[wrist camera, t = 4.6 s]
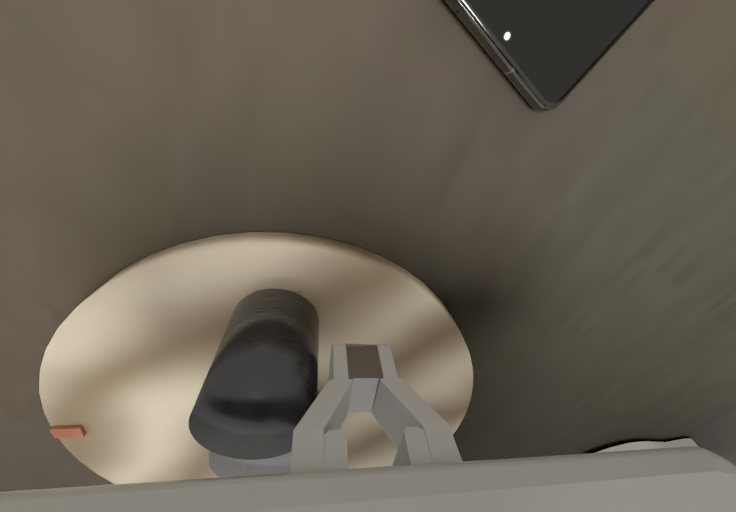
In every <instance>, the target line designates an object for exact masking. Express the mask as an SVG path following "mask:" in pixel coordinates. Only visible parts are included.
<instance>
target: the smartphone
mask: <svg viewBox="0 0 736 512" xmlns="http://www.w3.org/2000/svg"><path fill="white" fill-rule="evenodd" d="M444 1H445V2H446V3H447V5H448V6H449V7H450V8H451V9H452V11H453V12H454V13H455V14H456V16H457V17H458V18H459V19H460V20H461V22H462V23H463V24H464V25H465V27H466V28H467V29H468V30H469V31H470V33H471V34H472V35H473V36H474V38H475V39H476V40H477V41H478V42H479V44H480V45H481V46H482V47H483V49H484V50H485V51H486V52H487V53H488V55H489V56H490V57H491V58H492V60H493V61H494V62H495V63H496V64H497V66H498V67H499V68H500V69H501V71H502V72H503V73H504V74H505V75H506V77H507V78H508V79H509V80H510V82H511V83H512V84H513V85H514V86H515V88H516V89H517V90H518V91H519V93H520V94H521V95H522V96H523V97H524V99H525V100H526V101H527V102H528V103H529V105H530V106H531V107H533V108H534V109H536V110H538V111H549V110H552V109H554V108H556V107H557V106H558V105H560V104H561V103H562V102H563V101H564V100H565V98H566V97H567V96H568V95H569V94H570V93H571V92H572V91H573V90H574V88H575V87H576V86H577V85H578V84H579V83H580V82H581V81H582V80H583V79H584V78H585V76H586V75H587V74H588V73H589V72H590V71H591V70H592V69H593V68H594V67H595V65H596V64H597V63H598V62H599V61H600V60H601V59H602V58H603V57H604V56H605V55H606V53H607V52H608V51H609V50H610V49H611V48H612V47H613V46H614V45H615V44H616V42H617V41H618V40H619V39H620V38H621V37H622V36H623V35H624V34H625V33H626V31H627V30H628V29H629V28H630V27H631V26H632V25H633V24H634V23H635V22H636V21H637V19H638V18H639V17H640V16H641V15H642V14H643V13H644V12H645V11H646V10H647V8H648V7H649V6H650V5H651V4H652V3H653V2H654V1H655V0H444Z"/></svg>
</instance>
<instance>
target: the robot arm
mask: <svg viewBox="0 0 736 512" xmlns="http://www.w3.org/2000/svg"><path fill="white" fill-rule="evenodd" d="M353 412H372V414H373V416H374V417H375V419H376V420H377V421H378V423H379V424H380V426H381V427H382V429H383V430H384V431H385V433H386V434H387V436H388V437H389V439H390V440H391V441H392V443H393V444H394V446H395V447H396V449H397V453H396V456H395V459H394V462H393V465H392V466H387V467H372V468H357V469H349V466H348V452H347V438H346V433H345V432H344V431H343V430H341V429H340V428H341V426H342V424H343V422H344V420H345V418H346V416H347V414H348V413H353ZM0 512H736V465H734V464H733V463H731V462H729V461H728V460H726V459H724V458H722V457H721V456H719V455H717V454H715V453H713V452H711V451H709V450H707V449H704V448H701V447H699V446H698V445H697V444H696V443H695V442H694V441H693V440H692V439H690V438H686V439H679V440H674V441H669V442H654V441H641V442H632V443H626V444H622V445H618V446H614V447H610V448H607V449H604V450H601V451H598V452H596V453H584V454H569V455H554V456H539V457H524V458H508V459H493V460H478V461H462V459H461V456H460V453H459V451H458V448H457V445H456V443H455V440H454V437H453V434H452V432H451V429H450V426H449V424H448V423H447V422H446V421H445V420H444V419H443V418H442V417H441V416H440V415H439V414H438V413H437V412H436V411H435V410H434V409H433V408H432V407H431V406H430V405H429V404H428V403H427V402H426V401H424V400H423V399H422V398H421V397H420V396H419V395H418V394H417V393H416V392H415V391H414V390H413V389H412V388H411V387H410V386H409V385H408V384H407V383H406V382H405V381H404V380H403V379H401V378H398V375H397V372H396V368H395V364H394V360H393V356H392V352H391V348H390V346H389V344H334V343H332V346H331V355H330V364H329V381H328V382H327V383H326V385H325V386H324V388H323V389H322V390H321V392H320V393H319V395H318V396H317V398H316V399H315V400H314V402H313V403H312V405H311V406H310V407H309V409H308V410H307V412H306V413H305V415H304V416H303V417H302V419H301V420H300V422H299V423H298V425H297V426H296V427H295V429H294V431H293V441H292V451H291V461H290V471H289V473H281V474H266V475H251V476H235V477H220V478H205V479H190V480H174V481H159V482H143V483H128V484H113V485H97V486H82V487H66V488H51V489H36V490H20V491H5V492H0Z"/></svg>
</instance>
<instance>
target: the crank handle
mask: <svg viewBox="0 0 736 512" xmlns="http://www.w3.org/2000/svg"><path fill="white" fill-rule="evenodd" d="M318 351H319V316H318V313H317V311H316V309H315V307H314V306H313V305H312V303H311V302H309V301H308V300H307V299H306V298H305V297H303V291H289V290H284V289H264V290H256V291H255V292H253V293H251V294H249V295H247V296H246V297H244V298H243V299H242V300H241V301H240V302H239V303H238V304H237V306H236V307H235V309H234V311H233V314H232V316H231V319H230V321H229V323H228V326H227V328H226V330H225V333H224V335H223V338H222V340H221V342H220V345H219V347H218V350H217V352H216V354H215V357H214V359H213V362H212V364H211V366H210V369H209V371H208V373H207V376H206V378H205V381H204V383H203V385H202V388H201V390H200V393H199V395H198V397H197V400H196V402H195V405H194V407H193V409H192V412H191V414H190V417H189V423H188V425H189V430H190V433H191V435H192V436H193V438H194V439H195V440H196V441H197V442H198V443H199V444H200V445H201V446H202V447H204V448H206V449H207V450H209V451H210V452H209V457H208V460H209V465H210V468H211V469H212V471H213V472H214V473H215V474H216V475H217V476H218V477H219V478H220V477H235V476H251V475H266V474H281V473H289V471H290V461H291V451H292V441H293V431H294V429H295V427H296V426H297V425H298V423H299V422H300V420H301V419H302V417H303V416H304V415H305V413H306V412H307V410H308V409H309V407H310V406H311V405H312V403H313V402H314V400H315V399H316V398H317V396H318V395H317V386H318ZM340 429H341V428H340Z"/></svg>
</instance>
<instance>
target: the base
mask: <svg viewBox="0 0 736 512" xmlns="http://www.w3.org/2000/svg"><path fill="white" fill-rule="evenodd" d="M264 289H284V290H289V291H303V297H305V298H306V299H307V300H308V301H309V302H311V303H312V305H313V306H314V307H315V309H316V311H317V313H318V316H319V351H318V386H317V395H319V393H320V392H321V390H322V389H323V388H324V386H325V385H326V383H327V382H328V381H329V364H330V355H331V346H332V343H334V344H389V346H390V348H391V352H392V356H393V360H394V364H395V368H396V372H397V375H398V378H401V379H403V380H404V381H405V382H406V383H407V384H408V385H409V386H410V387H411V388H412V389H413V390H414V391H415V392H416V393H417V394H418V395H419V396H420V397H421V398H422V399H423V400H424V401H426V402H427V403H428V404H429V405H430V406H431V407H432V408H433V409H434V410H435V411H436V412H437V413H438V414H439V415H440V416H441V417H442V418H443V419H444V420H445V421H446V422H447V423H448V424H449V426H450V429H451V432H452V434H454V433H455V431H456V430H457V429H458V427H459V425H460V423H461V422H462V420H463V418H464V416H465V414H466V411H467V409H468V406H469V403H470V400H471V395H472V389H473V366H472V362H471V357H470V353H469V350H468V348H467V345H466V343H465V341H464V339H463V336H462V334H461V332H460V331H459V329H458V327H457V325H456V323H455V322H454V320H453V318H452V316H451V315H450V313H449V312H448V310H447V309H446V307H445V306H444V305H443V303H442V302H441V300H440V299H439V298H438V297H437V296H436V295H435V294H434V293H433V292H432V291H431V290H430V289H429V288H428V287H427V286H426V285H425V284H424V283H423V282H422V281H420V280H419V279H418V278H416V277H415V276H414V275H412V274H411V273H410V272H408V271H407V270H405V269H404V268H402V267H400V266H399V265H397V264H395V263H393V262H391V261H389V260H388V259H386V258H384V257H382V256H380V255H378V254H375V253H373V252H370V251H367V250H365V249H362V248H359V247H357V246H354V245H352V244H348V243H344V242H340V241H336V240H332V239H328V238H324V237H319V236H311V235H303V234H296V233H288V232H244V233H235V234H225V235H216V236H211V237H207V238H202V239H198V240H194V241H189V242H185V243H181V244H178V245H175V246H173V247H170V248H167V249H164V250H162V251H159V252H156V253H154V254H151V255H149V256H147V257H145V258H143V259H141V260H139V261H138V262H136V263H134V264H132V265H130V266H128V267H127V268H125V269H123V270H121V271H120V272H119V273H117V274H116V275H115V276H114V277H112V278H111V279H110V280H108V281H107V282H106V283H104V284H103V285H102V286H101V287H99V288H98V289H97V290H96V291H95V292H94V293H92V294H91V295H90V296H89V297H88V298H87V299H86V300H84V301H83V302H82V303H81V304H80V305H79V306H77V307H76V308H75V310H74V311H73V312H72V313H71V314H70V315H69V316H68V317H67V318H66V320H65V321H64V322H63V323H62V324H61V325H60V326H59V327H58V329H57V331H56V332H55V334H54V336H53V338H52V339H51V341H50V343H49V345H48V347H47V348H46V350H45V354H44V358H43V361H42V365H41V368H40V383H39V393H40V397H41V402H42V406H43V410H44V413H45V415H46V417H47V419H48V421H49V424H50V426H51V428H50V429H49V430H50V432H51V433H52V435H53V436H54V438H59V439H60V441H61V442H62V443H63V445H64V446H65V447H66V448H67V449H68V450H69V451H70V452H71V453H72V454H73V455H74V456H75V457H76V458H77V459H78V460H79V461H80V462H82V463H83V464H84V465H86V466H87V467H88V468H90V469H91V470H92V471H94V472H95V473H97V474H98V475H100V476H102V477H103V478H105V479H107V480H109V481H110V482H112V483H114V484H128V483H143V482H159V481H174V480H190V479H205V478H219V477H218V476H217V475H216V474H215V473H214V472H213V471H212V469H211V468H210V465H209V460H208V457H209V452H210V451H209V450H207V449H206V448H204V447H202V446H201V445H200V444H199V443H198V442H197V441H196V440H195V439H194V438H193V436H192V435H191V433H190V430H189V425H188V423H189V417H190V414H191V412H192V409H193V407H194V405H195V402H196V400H197V397H198V395H199V393H200V390H201V388H202V385H203V383H204V381H205V378H206V376H207V373H208V371H209V369H210V366H211V364H212V362H213V359H214V357H215V354H216V352H217V350H218V347H219V345H220V342H221V340H222V338H223V335H224V333H225V330H226V328H227V326H228V323H229V321H230V319H231V316H232V314H233V311H234V309H235V307H236V306H237V304H238V303H239V302H240V301H241V300H242V299H243V298H244V297H246V296H247V295H249V294H251V293H253V292H255V291H256V290H264ZM341 430H343V431H344V432H345V433H346V438H347V452H348V466H349V469H357V468H372V467H387V466H392V465H393V462H394V459H395V456H396V453H397V449H396V447H395V446H394V444H393V443H392V441H391V440H390V439H389V437H388V436H387V434H386V433H385V431H384V430H383V429H382V427H381V426H380V424H379V423H378V421H377V420H376V419H375V417H374V416H373V414H372V412H353V413H348V414H347V416H346V418H345V420H344V422H343V424H342V426H341Z"/></svg>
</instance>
